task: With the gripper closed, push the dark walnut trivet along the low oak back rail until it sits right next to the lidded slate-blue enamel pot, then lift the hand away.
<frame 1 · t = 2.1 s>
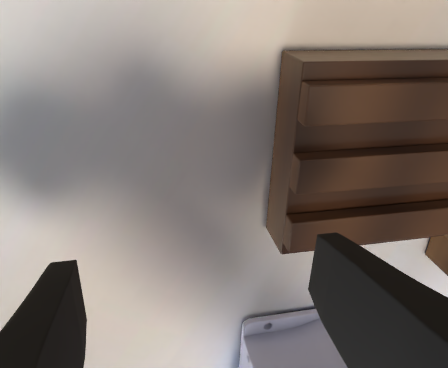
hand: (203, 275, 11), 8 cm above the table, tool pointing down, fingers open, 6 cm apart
trivet: (358, 143, 20), on the table
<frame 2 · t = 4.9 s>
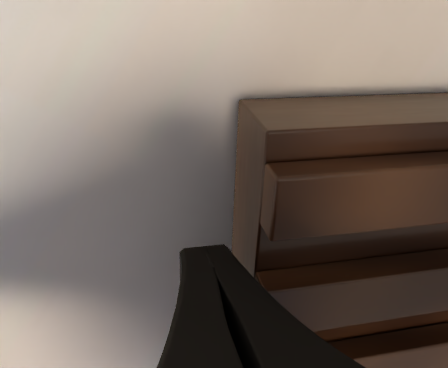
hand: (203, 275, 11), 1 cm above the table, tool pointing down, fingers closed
trivet: (363, 227, 14), on the table, touching gripper
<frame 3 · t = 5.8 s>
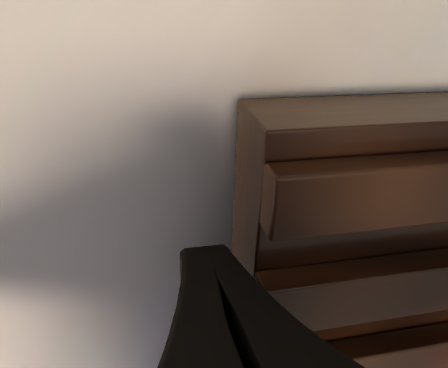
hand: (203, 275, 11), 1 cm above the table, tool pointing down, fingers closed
trivet: (363, 227, 14), on the table, touching gripper
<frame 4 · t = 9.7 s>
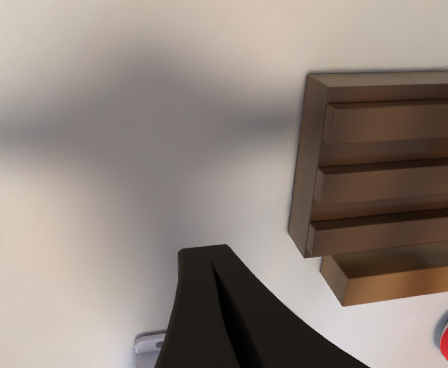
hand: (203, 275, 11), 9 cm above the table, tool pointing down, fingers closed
trivet: (374, 156, 22), on the table
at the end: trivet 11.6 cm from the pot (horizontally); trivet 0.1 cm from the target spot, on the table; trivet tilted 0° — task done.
